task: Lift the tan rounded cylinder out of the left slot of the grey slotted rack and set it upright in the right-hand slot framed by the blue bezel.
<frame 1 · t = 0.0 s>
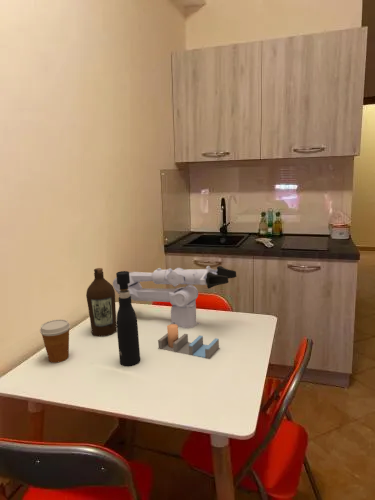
hand: (232, 276, 133), 22 cm above the table, tool horizontal, fingers open, 7 cm apart
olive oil: (104, 332, 145), on the table
tan rounded cylinder: (173, 345, 128), point 1 cm above the table, touching grey slotted rack
grey slotted rack: (188, 351, 126), on the table
disposable coffee cup: (59, 358, 125), on the table
wine bottle: (130, 364, 119), on the table
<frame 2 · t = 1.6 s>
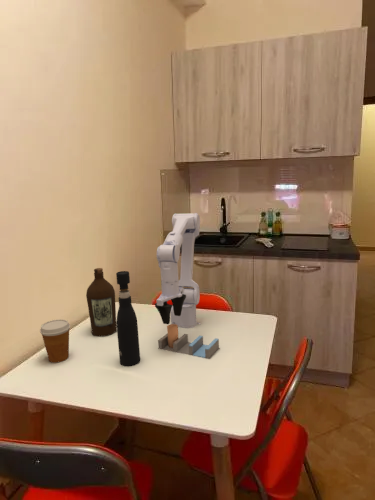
hand: (172, 319, 126), 10 cm above the table, tool pointing down, fingers open, 7 cm apart
nothing on the table moved.
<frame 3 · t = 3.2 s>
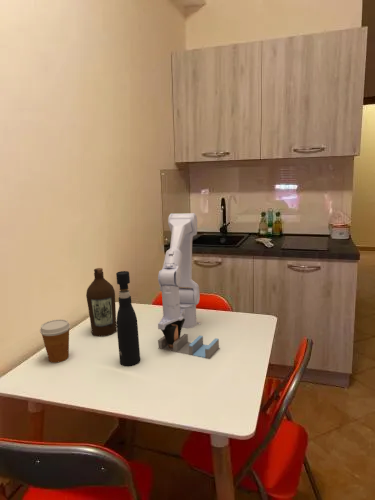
hand: (173, 341, 128), 2 cm above the table, tool pointing down, fingers closed on tan rounded cylinder, 4 cm apart
tan rounded cylinder: (173, 345, 128), point 1 cm above the table, touching grey slotted rack, gripper
everything else where it was.
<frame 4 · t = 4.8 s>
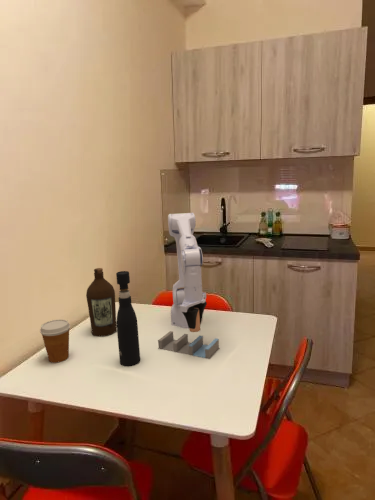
hand: (194, 325, 122), 9 cm above the table, tool pointing down, fingers closed on tan rounded cylinder, 4 cm apart
tan rounded cylinder: (194, 329, 123), point 8 cm above the table, touching gripper
everything else where it was.
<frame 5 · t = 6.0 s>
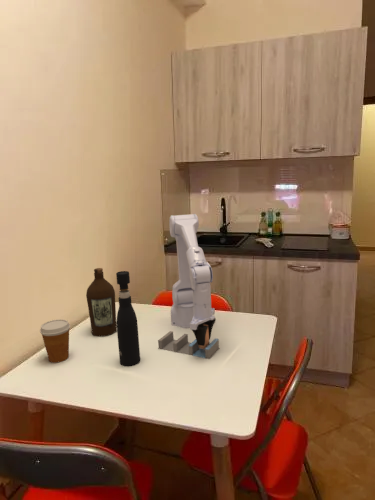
hand: (203, 342, 122), 4 cm above the table, tool pointing down, fingers closed on tan rounded cylinder, 4 cm apart
tan rounded cylinder: (204, 346, 122), point 3 cm above the table, touching gripper
everything else where it was.
when the fingers open (4 cm above the table, at t = 6.8 s): tan rounded cylinder drops 1 cm, resting on grey slotted rack.
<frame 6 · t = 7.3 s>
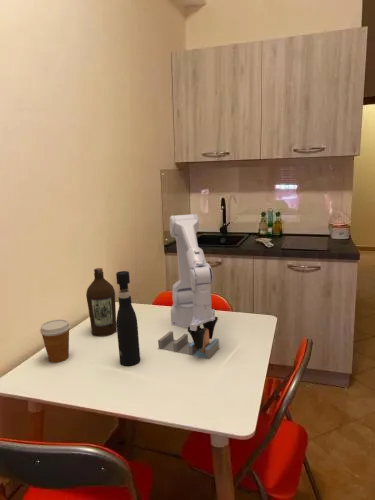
hand: (203, 343, 122), 4 cm above the table, tool pointing down, fingers open, 7 cm apart
tan rounded cylinder: (204, 350, 123), point 1 cm above the table, touching grey slotted rack
everything else where it was.
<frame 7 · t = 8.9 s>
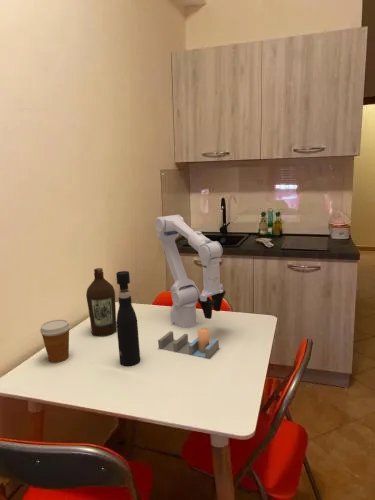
hand: (212, 314, 132), 9 cm above the table, tool pointing down, fingers open, 7 cm apart
nothing on the table moved.
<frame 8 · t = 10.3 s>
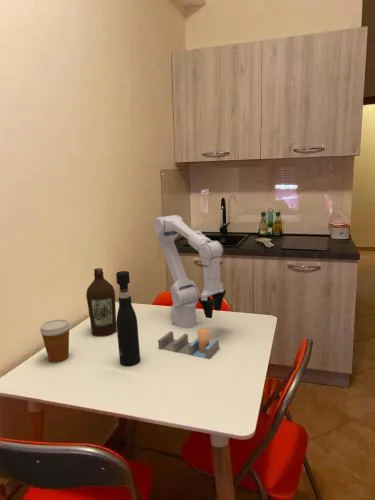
hand: (213, 313, 132), 9 cm above the table, tool pointing down, fingers open, 7 cm apart
nothing on the table moved.
at the end: tan rounded cylinder 0.0 cm from the target spot on the grey slotted rack, point 1.3 cm above the grey slotted rack's base; tan rounded cylinder tilted 0°; the gripper is holding nothing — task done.
